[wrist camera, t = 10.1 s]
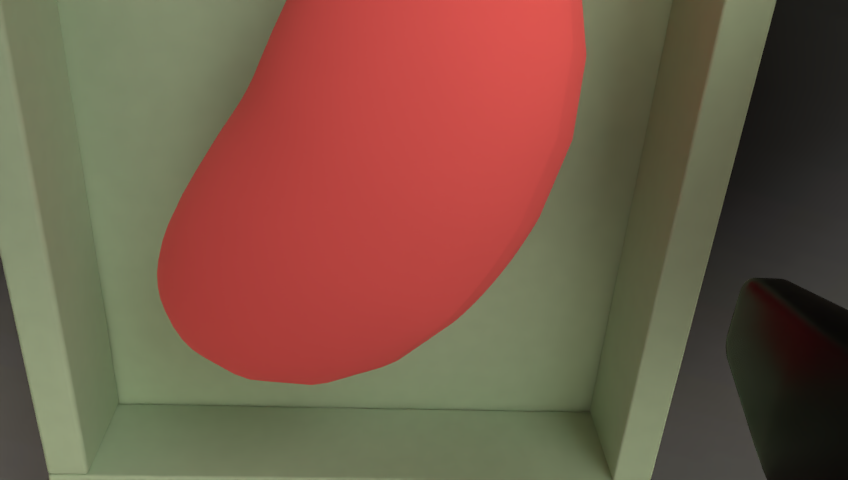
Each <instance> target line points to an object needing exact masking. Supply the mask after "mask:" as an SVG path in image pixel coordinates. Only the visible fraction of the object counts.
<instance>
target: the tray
mask: <svg viewBox="0 0 848 480" xmlns="http://www.w3.org/2000/svg"><path fill="white" fill-rule="evenodd" d="M285 2H286V0H0V255H1V260H2V264H3V269H4V273H5V278H6V282H7V287H8V292H9V296H10V301H11V305H12V310H13V314H14V319H15V324H16V328H17V333H18V337H19V342H20V346H21V351H22V355H23V360H24V365H25V369H26V374H27V378H28V383H29V387H30V392H31V397H32V401H33V406H34V410H35V415H36V419H37V424H38V428H39V433H40V438H41V442H42V447H43V451H44V456H45V460H46V465H47V470H48V472H49V480H651V476H652V473H653V469H654V465H655V461H656V457H657V453H658V450H659V446H660V442H661V438H662V434H663V431H664V427H665V423H666V419H667V415H668V412H669V408H670V404H671V400H672V396H673V393H674V389H675V385H676V381H677V377H678V374H679V370H680V366H681V362H682V358H683V354H684V351H685V347H686V343H687V339H688V335H689V332H690V328H691V324H692V320H693V316H694V313H695V309H696V305H697V301H698V297H699V294H700V290H701V286H702V282H703V278H704V274H705V271H706V267H707V263H708V259H709V255H710V252H711V248H712V244H713V240H714V236H715V233H716V229H717V225H718V221H719V217H720V214H721V210H722V206H723V202H724V198H725V194H726V191H727V187H728V183H729V179H730V175H731V172H732V168H733V164H734V160H735V156H736V153H737V149H738V145H739V141H740V137H741V134H742V130H743V126H744V122H745V118H746V115H747V111H748V107H749V103H750V99H751V95H752V92H753V88H754V84H755V80H756V76H757V73H758V69H759V65H760V61H761V57H762V54H763V50H764V46H765V42H766V38H767V35H768V31H769V27H770V23H771V19H772V15H773V12H774V8H775V4H776V0H582V6H583V18H584V31H585V43H586V62H585V68H584V74H583V80H582V86H581V92H580V98H579V104H578V110H577V116H576V122H575V128H574V134H573V140H572V142H571V144H570V147H569V149H568V151H567V154H566V156H565V158H564V161H563V163H562V166H561V168H560V170H559V173H558V175H557V177H556V180H555V182H554V184H553V187H552V189H551V191H550V194H549V196H548V198H547V201H546V203H545V205H544V208H543V210H542V212H541V215H540V217H539V219H538V221H537V222H536V224H535V226H534V227H533V229H532V230H531V232H530V234H529V235H528V237H527V238H526V240H525V241H524V243H523V244H522V246H521V247H520V249H519V250H518V251H517V253H516V254H515V256H514V257H513V259H512V260H511V261H510V262H509V264H508V265H507V266H506V268H505V269H504V270H503V272H502V273H501V274H500V275H499V276H498V278H497V279H496V280H495V281H494V282H493V284H492V285H491V286H490V287H489V288H488V289H487V290H486V291H485V293H484V294H483V295H482V296H481V297H480V298H479V299H478V300H477V301H476V302H475V303H474V304H473V305H472V306H471V307H470V308H469V309H468V310H467V311H466V312H465V313H464V314H463V315H461V316H460V317H459V318H458V319H457V320H456V321H454V322H453V323H452V324H450V325H449V326H448V327H446V328H445V329H443V330H442V331H440V332H439V333H437V334H436V335H434V336H433V337H431V338H430V339H429V340H427V341H426V342H424V343H423V344H421V345H420V346H418V347H417V348H415V349H414V350H412V351H411V352H410V353H408V354H407V355H405V356H404V357H402V358H401V359H399V360H398V361H396V362H393V363H391V364H389V365H386V366H384V367H381V368H377V369H374V370H370V371H367V372H363V373H360V374H356V375H353V376H350V377H346V378H343V379H339V380H336V381H332V382H329V383H322V384H315V385H305V384H293V383H281V382H269V381H259V380H250V379H247V378H244V377H241V376H238V375H235V374H233V373H231V372H230V371H228V370H226V369H224V368H222V367H221V366H219V365H217V364H215V363H213V362H212V361H210V360H208V359H206V358H204V357H203V356H201V355H200V354H198V353H197V352H195V351H194V350H192V349H191V348H190V347H189V346H188V345H187V344H186V343H185V342H184V341H183V340H182V339H181V337H180V336H179V334H178V333H177V331H176V330H175V329H174V327H173V325H172V323H171V322H170V320H169V318H168V316H167V314H166V312H165V309H164V307H163V304H162V302H161V299H160V295H159V290H158V283H157V268H158V259H159V254H160V250H161V245H162V241H163V238H164V235H165V232H166V229H167V226H168V223H169V221H170V219H171V217H172V215H173V213H174V211H175V209H176V207H177V205H178V202H179V200H180V198H181V196H182V194H183V192H184V191H185V189H186V187H187V185H188V183H189V182H190V180H191V178H192V176H193V175H194V173H195V171H196V170H197V168H198V166H199V165H200V163H201V162H202V160H203V158H204V157H205V155H206V153H207V152H208V150H209V148H210V147H211V145H212V144H213V142H214V140H215V139H216V137H217V135H218V134H219V132H220V131H221V129H222V128H223V126H224V125H225V123H226V122H227V120H228V119H229V117H230V116H231V114H232V113H233V111H234V110H235V108H236V107H237V105H238V104H239V102H240V101H241V99H242V97H243V95H244V94H245V92H246V90H247V88H248V86H249V84H250V82H251V80H252V78H253V76H254V73H255V71H256V69H257V66H258V64H259V61H260V59H261V57H262V54H263V52H264V49H265V47H266V45H267V42H268V40H269V37H270V35H271V33H272V30H273V28H274V26H275V24H276V22H277V20H278V17H279V15H280V13H281V11H282V9H283V7H284V4H285Z"/></svg>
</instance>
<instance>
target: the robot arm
mask: <svg viewBox="0 0 848 480" xmlns="http://www.w3.org/2000/svg"><path fill="white" fill-rule="evenodd" d="M726 354H727V359H728V362H729V366H730V369H731V372H732V375H733V378H734V381H735V385H736V388H737V391H738V394H739V397H740V401H741V404H742V407H743V410H744V413H745V416H746V420H747V423H748V426H749V429H750V432H751V436H752V439H753V442H754V445H755V448H756V451H757V454H758V457H759V460H760V463H761V465H762V468H763V471H764V473H765V476H766V478H767V480H848V310H847V309H845V308H842V307H840V306H838V305H836V304H834V303H832V302H830V301H828V300H826V299H824V298H822V297H820V296H818V295H816V294H814V293H812V292H810V291H808V290H806V289H804V288H801V287H799V286H797V285H795V284H793V283H791V282H789V281H787V280H784V279H774V278H752V279H749V280H748V281H746V282H745V283H744V285H743V286H742V288H741V291H740V294H739V297H738V300H737V304H736V307H735V311H734V314H733V317H732V321H731V324H730V328H729V331H728V335H727V339H726Z"/></svg>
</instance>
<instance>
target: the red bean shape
mask: <svg viewBox="0 0 848 480" xmlns="http://www.w3.org/2000/svg"><path fill="white" fill-rule="evenodd" d="M585 62H586V43H585V31H584V18H583V6H582V0H286V2H285V4H284V7H283V9H282V11H281V13H280V15H279V17H278V20H277V22H276V24H275V26H274V28H273V30H272V33H271V35H270V37H269V40H268V42H267V45H266V47H265V49H264V52H263V54H262V57H261V59H260V61H259V64H258V66H257V69H256V71H255V73H254V76H253V78H252V80H251V82H250V84H249V86H248V88H247V90H246V92H245V94H244V95H243V97H242V99H241V101H240V102H239V104H238V105H237V107H236V108H235V110H234V111H233V113H232V114H231V116H230V117H229V119H228V120H227V122H226V123H225V125H224V126H223V128H222V129H221V131H220V132H219V134H218V135H217V137H216V139H215V140H214V142H213V144H212V145H211V147H210V148H209V150H208V152H207V153H206V155H205V157H204V158H203V160H202V162H201V163H200V165H199V166H198V168H197V170H196V171H195V173H194V175H193V176H192V178H191V180H190V182H189V183H188V185H187V187H186V189H185V191H184V192H183V194H182V196H181V198H180V200H179V202H178V205H177V207H176V209H175V211H174V213H173V215H172V217H171V219H170V221H169V223H168V226H167V229H166V232H165V235H164V238H163V241H162V245H161V250H160V254H159V259H158V268H157V283H158V290H159V295H160V299H161V302H162V304H163V307H164V309H165V312H166V314H167V316H168V318H169V320H170V322H171V323H172V325H173V327H174V329H175V330H176V331H177V333H178V334H179V336H180V337H181V339H182V340H183V341H184V342H185V343H186V344H187V345H188V346H189V347H190V348H191V349H192V350H194V351H195V352H197V353H198V354H200V355H201V356H203V357H204V358H206V359H208V360H210V361H212V362H213V363H215V364H217V365H219V366H221V367H222V368H224V369H226V370H228V371H230V372H231V373H233V374H235V375H238V376H241V377H244V378H247V379H250V380H259V381H269V382H281V383H293V384H305V385H315V384H322V383H329V382H332V381H336V380H339V379H343V378H346V377H350V376H353V375H356V374H360V373H363V372H367V371H370V370H374V369H377V368H381V367H384V366H386V365H389V364H391V363H393V362H396V361H398V360H399V359H401V358H402V357H404V356H405V355H407V354H408V353H410V352H411V351H412V350H414V349H415V348H417V347H418V346H420V345H421V344H423V343H424V342H426V341H427V340H429V339H430V338H431V337H433V336H434V335H436V334H437V333H439V332H440V331H442V330H443V329H445V328H446V327H448V326H449V325H450V324H452V323H453V322H454V321H456V320H457V319H458V318H459V317H460V316H461V315H463V314H464V313H465V312H466V311H467V310H468V309H469V308H470V307H471V306H472V305H473V304H474V303H475V302H476V301H477V300H478V299H479V298H480V297H481V296H482V295H483V294H484V293H485V291H486V290H487V289H488V288H489V287H490V286H491V285H492V284H493V282H494V281H495V280H496V279H497V278H498V276H499V275H500V274H501V273H502V272H503V270H504V269H505V268H506V266H507V265H508V264H509V262H510V261H511V260H512V259H513V257H514V256H515V254H516V253H517V251H518V250H519V249H520V247H521V246H522V244H523V243H524V241H525V240H526V238H527V237H528V235H529V234H530V232H531V230H532V229H533V227H534V226H535V224H536V222H537V221H538V219H539V217H540V215H541V212H542V210H543V208H544V205H545V203H546V201H547V198H548V196H549V194H550V191H551V189H552V187H553V184H554V182H555V180H556V177H557V175H558V173H559V170H560V168H561V166H562V163H563V161H564V158H565V156H566V154H567V151H568V149H569V147H570V144H571V142H572V140H573V134H574V128H575V122H576V116H577V110H578V104H579V98H580V92H581V86H582V80H583V74H584V68H585Z"/></svg>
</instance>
